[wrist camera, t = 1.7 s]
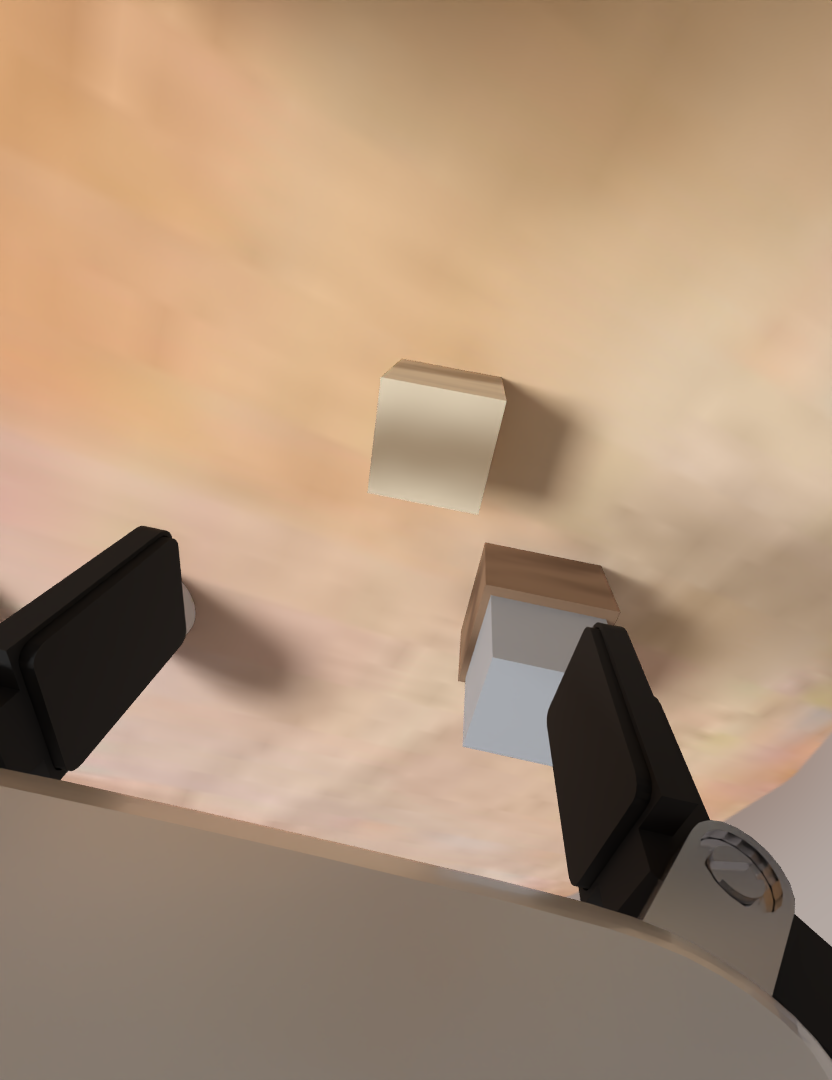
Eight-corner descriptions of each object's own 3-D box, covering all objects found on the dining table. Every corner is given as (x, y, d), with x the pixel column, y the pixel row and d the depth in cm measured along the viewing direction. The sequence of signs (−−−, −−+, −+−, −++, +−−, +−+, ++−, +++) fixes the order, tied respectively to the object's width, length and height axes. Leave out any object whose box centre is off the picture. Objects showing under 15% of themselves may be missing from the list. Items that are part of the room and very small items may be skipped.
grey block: (490, 595, 26) (492, 657, 22) (606, 619, 26) (630, 687, 22) (465, 677, 29) (462, 746, 25) (567, 700, 29) (583, 773, 25)
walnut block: (485, 541, 30) (485, 584, 26) (600, 564, 30) (620, 612, 26) (461, 629, 34) (457, 680, 30) (563, 651, 34) (575, 705, 29)
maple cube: (402, 358, 25) (380, 377, 20) (501, 377, 25) (506, 401, 20) (389, 454, 28) (367, 492, 23) (479, 472, 28) (478, 514, 23)
